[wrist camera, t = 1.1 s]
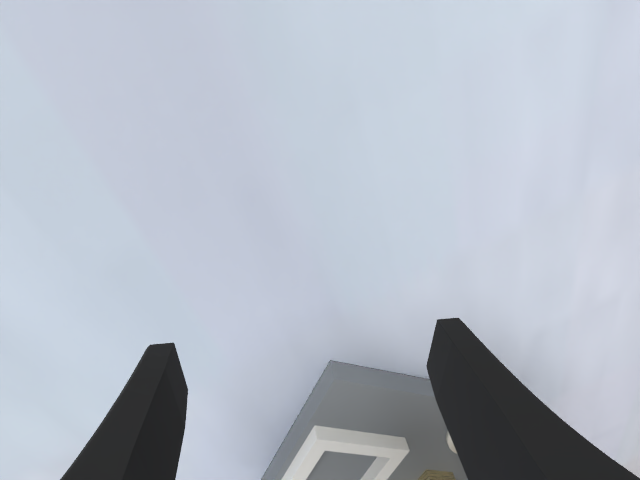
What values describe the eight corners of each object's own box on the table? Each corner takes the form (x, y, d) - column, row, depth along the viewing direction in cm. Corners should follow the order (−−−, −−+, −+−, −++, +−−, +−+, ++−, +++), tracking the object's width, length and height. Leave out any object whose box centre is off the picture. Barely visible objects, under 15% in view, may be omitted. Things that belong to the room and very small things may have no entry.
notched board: (433, 494, 38) (444, 524, 36) (260, 480, 33) (262, 514, 31) (519, 396, 33) (539, 425, 31) (330, 360, 27) (338, 392, 25)
